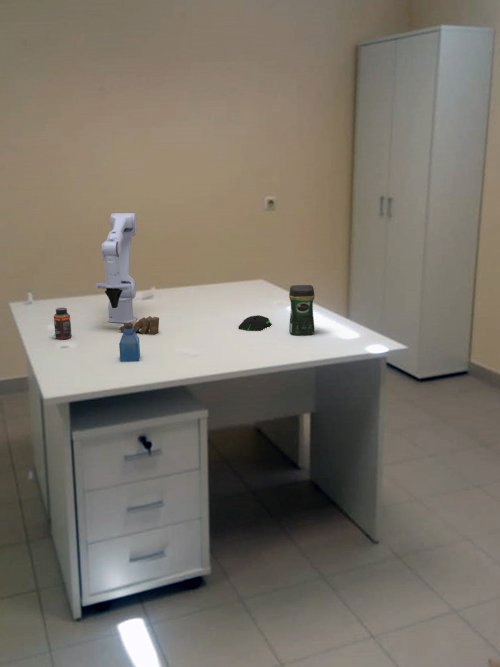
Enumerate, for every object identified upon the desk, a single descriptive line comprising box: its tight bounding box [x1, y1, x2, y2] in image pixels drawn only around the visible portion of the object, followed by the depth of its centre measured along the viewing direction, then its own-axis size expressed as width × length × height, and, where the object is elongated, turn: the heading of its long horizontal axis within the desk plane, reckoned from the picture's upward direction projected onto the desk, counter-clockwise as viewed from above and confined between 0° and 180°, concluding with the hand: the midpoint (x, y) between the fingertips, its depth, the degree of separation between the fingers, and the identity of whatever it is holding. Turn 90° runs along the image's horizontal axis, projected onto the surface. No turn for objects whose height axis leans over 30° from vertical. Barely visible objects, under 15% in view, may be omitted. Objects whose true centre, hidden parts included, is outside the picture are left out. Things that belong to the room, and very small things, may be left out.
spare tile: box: [118, 319, 138, 334], centre depth 276 cm, size 2×4×6 cm
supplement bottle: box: [53, 307, 72, 341], centre depth 267 cm, size 6×6×11 cm
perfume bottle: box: [118, 323, 141, 363], centre depth 241 cm, size 6×6×12 cm
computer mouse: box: [238, 314, 273, 332], centre depth 283 cm, size 11×16×4 cm
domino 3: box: [148, 316, 160, 336], centre depth 273 cm, size 2×4×6 cm, turn 163°
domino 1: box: [133, 316, 146, 333], centre depth 274 cm, size 2×4×6 cm
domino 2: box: [139, 316, 153, 335], centre depth 273 cm, size 2×4×6 cm, turn 164°
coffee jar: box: [288, 284, 316, 336], centre depth 270 cm, size 10×8×19 cm
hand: (114, 307), depth 276 cm, fingers closed
